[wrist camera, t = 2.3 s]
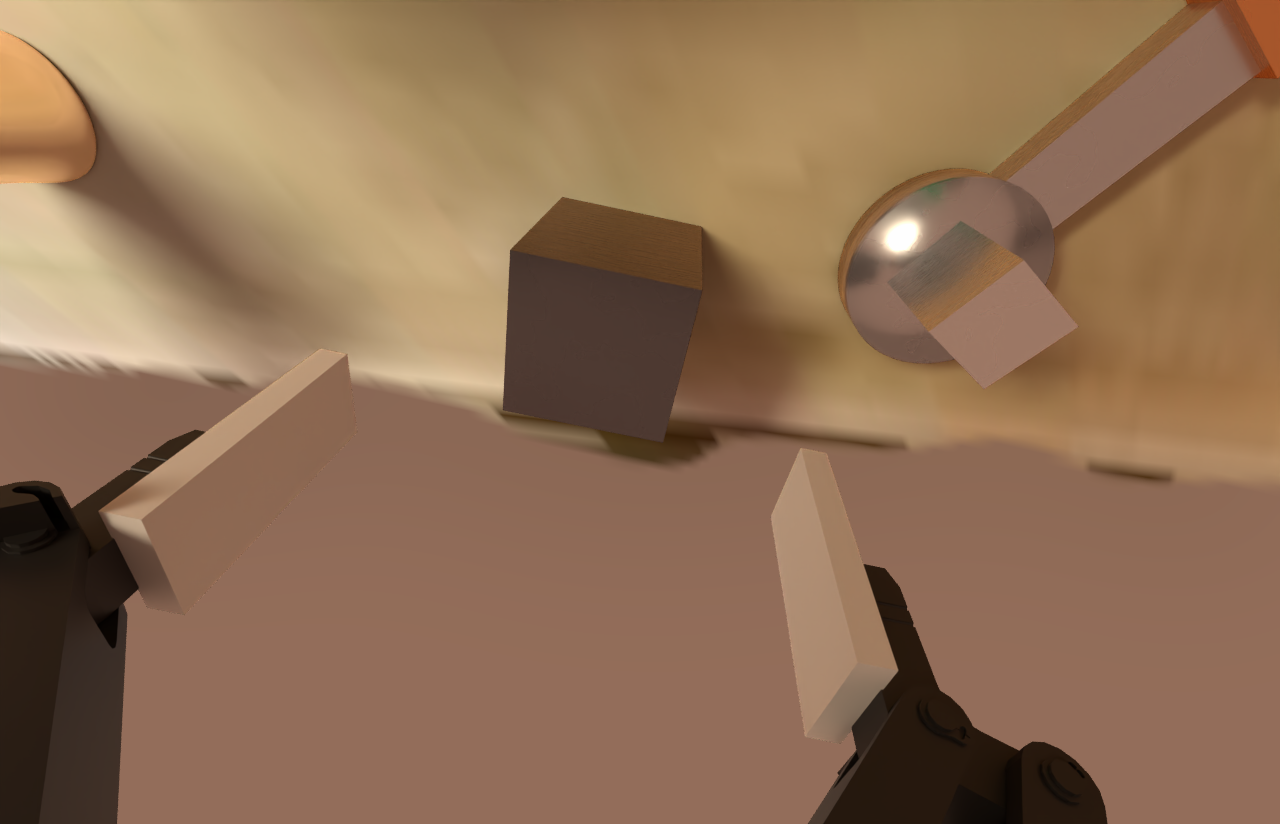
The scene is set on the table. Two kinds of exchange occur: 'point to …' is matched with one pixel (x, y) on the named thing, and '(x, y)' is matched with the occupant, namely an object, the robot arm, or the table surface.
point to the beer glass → (40, 119)
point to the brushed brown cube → (601, 317)
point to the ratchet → (1036, 200)
